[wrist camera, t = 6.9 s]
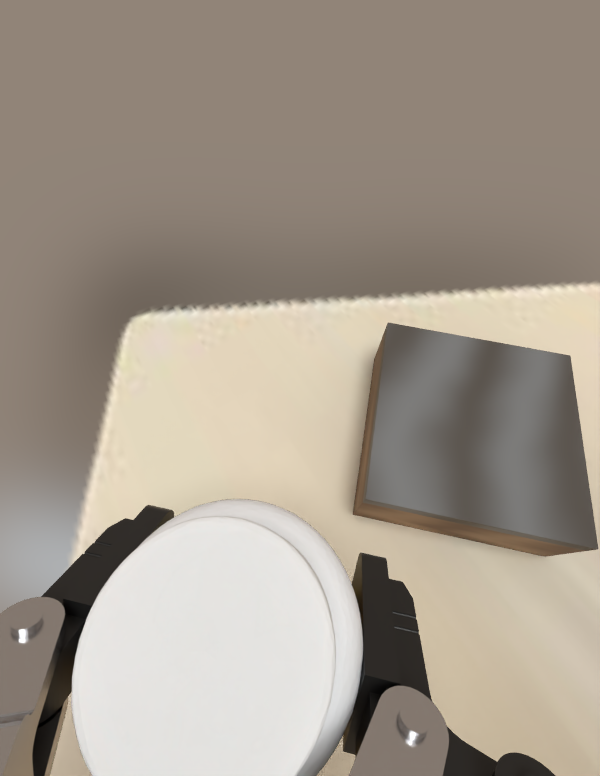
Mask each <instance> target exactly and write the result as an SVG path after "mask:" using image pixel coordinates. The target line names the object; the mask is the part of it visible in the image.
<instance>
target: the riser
mask: <svg viewBox="0 0 600 776" xmlns="http://www.w3.org/2000/svg"><path fill="white" fill-rule="evenodd" d="M353 515H358V516H363V517H367V518H372V519H376V520H381V521H385V522H390V523H394V524H399V525H404V526H408V527H413V528H417V529H422V530H426V531H431V532H436V533H440V534H445V535H449V536H454V537H458V538H463V539H468V540H472V541H477V542H481V543H486V544H490V545H495V546H500V547H504V548H509V549H513V550H518V551H522V552H527V553H531V554H536V555H541V556H553V555H560V554H567V553H574V552H581V551H589V550H596V549H598V544H597V537H596V530H595V523H594V516H593V509H592V502H591V496H590V489H589V482H588V475H587V468H586V461H585V454H584V447H583V440H582V433H581V426H580V420H579V413H578V406H577V399H576V392H575V385H574V378H573V371H572V364H571V357H570V356H569V355H564V354H558V353H553V352H547V351H542V350H536V349H531V348H525V347H520V346H514V345H509V344H503V343H497V342H492V341H486V340H481V339H475V338H470V337H464V336H459V335H453V334H448V333H442V332H437V331H431V330H426V329H420V328H415V327H409V326H404V325H398V324H393V323H388V324H387V326H386V329H385V332H384V335H383V337H382V340H381V343H380V345H379V348H378V351H377V354H376V356H375V359H374V366H373V373H372V381H371V388H370V395H369V402H368V409H367V417H366V424H365V431H364V438H363V445H362V453H361V460H360V467H359V474H358V481H357V489H356V496H355V503H354V510H353Z"/></svg>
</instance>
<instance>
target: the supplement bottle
mask: <svg viewBox="0 0 600 776" xmlns="http://www.w3.org/2000/svg"><path fill="white" fill-rule="evenodd" d="M362 661H363V635H362V624H361V618H360V612H359V607H358V603H357V599H356V595H355V592H354V589H353V587H352V584H351V581H350V579H349V577H348V574H347V572H346V570H345V568H344V566H343V565H342V563H341V561H340V559H339V558H338V556H337V555H336V553H335V552H334V550H333V549H332V548H331V546H330V545H329V544H328V542H327V541H326V540H325V539H324V538H323V537H322V536H321V535H320V534H319V533H318V532H317V531H316V530H315V529H314V528H313V527H312V526H311V525H309V524H308V523H307V522H306V521H304V520H303V519H301V518H300V517H298V516H297V515H295V514H293V513H291V512H290V511H287V510H285V509H283V508H281V507H278V506H276V505H273V504H269V503H266V502H261V501H256V500H249V499H227V500H220V501H215V502H211V503H207V504H202V505H199V506H196V507H194V508H192V509H189V510H187V511H185V512H183V513H181V514H179V515H178V516H176V517H174V518H172V519H171V520H169V521H167V522H166V523H165V524H163V525H162V526H160V527H159V528H158V529H157V530H155V531H154V532H153V533H152V534H151V535H150V536H149V537H147V538H146V539H145V540H144V541H143V542H142V543H141V544H140V545H139V546H138V547H137V549H135V550H134V551H133V552H132V553H131V554H130V555H129V556H128V557H127V558H126V559H125V560H124V561H123V562H122V563H121V564H120V565H119V567H118V568H117V569H116V570H115V571H114V572H113V573H112V575H111V576H110V578H109V579H108V581H107V582H106V583H105V585H104V586H103V588H102V589H101V591H100V593H99V594H98V596H97V598H96V600H95V602H94V604H93V606H92V608H91V610H90V612H89V614H88V616H87V619H86V622H85V625H84V628H83V630H82V633H81V636H80V639H79V643H78V647H77V651H76V655H75V661H74V668H73V674H72V702H71V704H72V713H73V722H74V727H75V731H76V736H77V740H78V743H79V747H80V751H81V754H82V756H83V758H84V761H85V763H86V766H87V767H88V769H89V771H90V773H91V774H92V776H316V775H317V774H318V773H319V771H320V770H321V769H322V768H323V767H324V765H325V764H326V762H327V761H328V759H329V758H330V756H331V755H332V753H333V752H334V750H335V749H336V747H337V745H338V743H339V741H340V740H341V738H342V736H343V734H344V731H345V729H346V727H347V724H348V722H349V719H350V717H351V714H352V712H353V709H354V705H355V701H356V698H357V694H358V689H359V684H360V678H361V671H362Z"/></svg>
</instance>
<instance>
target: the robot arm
mask: <svg viewBox="0 0 600 776" xmlns="http://www.w3.org/2000/svg"><path fill="white" fill-rule="evenodd" d="M172 518H174V512H173V511H172V510H169V509H165V508H160V507H156V506H151V505H148V506H146V507H145V508H144V509H143V510H142V511H141V512H140V513H139V514H138V516H137V517H136V518H135V519H134V520H130V519H126V518H125V519H123V520H121V521H120V522H118V523H116V524H114V525H112V526H111V527H109V528H107V529H106V530H105V531H104V533H103V534H102V535H101V536H100V537H99V538H98V539H97V540H96V541H95V543H93V544H92V545H91V546H90V547H89V548H88V549H87V550H86V551H85V554H82V555H81V556H80V557H79V558H78V559H77V560H76V561H75V562H74V563H73V564H72V565H71V567H70V568H69V569H68V570H67V571H66V572H65V573H64V574H63V575H62V576H61V577H60V578H59V579H58V580H57V581H56V582H55V583H54V584H53V585H52V586H51V587H50V588H49V589H48V590H47V591H46V593H44V594H43V596H41V597H35V598H30V599H27V600H24V601H21V602H18V603H16V604H14V605H12V606H10V607H9V608H7V609H6V610H4V611H3V612H2V613H1V614H0V776H50V773H51V769H52V765H53V761H54V758H55V754H56V750H57V746H58V742H59V738H60V734H61V730H62V726H63V722H64V718H65V714H66V710H67V706H68V696H69V694H70V693H71V691H72V674H73V668H74V661H75V655H76V651H77V647H78V643H79V639H80V636H81V633H82V630H83V628H84V625H85V622H86V619H87V616H88V614H89V612H90V610H91V608H92V606H93V604H94V602H95V600H96V598H97V596H98V594H99V593H100V591H101V589H102V588H103V586H104V585H105V583H106V582H107V581H108V579H109V578H110V576H111V575H112V573H113V572H114V571H115V570H116V569H117V568H118V567H119V565H120V564H121V563H122V562H123V561H124V560H125V559H126V558H127V557H128V556H129V555H130V554H131V553H132V552H133V551H134V550H135V549H137V547H138V546H139V545H140V544H141V543H142V542H143V541H144V540H145V539H146V538H147V537H149V536H150V535H151V534H152V533H153V532H154V531H155V530H157V529H158V528H159V527H160V526H162V525H163V524H165V523H166V522H167V521H169V520H171V519H172ZM352 587H353V589H354V592H355V595H356V599H357V603H358V607H359V612H360V618H361V624H362V635H363V661H362V671H361V678H360V684H359V689H358V694H357V698H356V701H355V705H354V709H353V712H352V714H351V717H350V719H349V722H348V724H347V727H346V729H345V731H344V734H343V751H344V752H347V753H351V754H355V755H356V759H355V762H354V764H353V767H352V769H351V772H350V774H349V776H555V775H554V774H553V773H552V772H551V771H550V770H549V769H548V768H546V767H545V766H544V765H543V764H541V763H540V762H538V761H537V760H535V759H533V758H531V757H529V756H527V755H524V754H520V753H508V754H505V755H504V756H502V757H501V758H500V759H499V761H498V762H496V761H495V760H493V759H491V758H490V757H488V756H487V755H485V754H483V753H482V752H480V751H478V750H477V749H475V748H473V747H472V746H470V745H469V744H467V743H466V742H464V741H463V740H461V739H460V738H459V737H458V736H456V735H455V734H454V733H453V732H452V731H451V730H450V729H449V728H448V727H447V726H446V723H445V721H444V718H443V717H442V715H441V713H440V711H439V710H438V708H437V707H436V706H435V705H434V703H433V702H432V699H431V695H430V691H429V685H428V680H427V674H426V669H425V663H424V658H423V652H422V647H421V641H420V635H419V634H418V632H419V630H418V624H417V620H416V613H415V608H414V602H413V598H412V596H411V595H410V593H409V591H408V590H407V588H406V587H405V585H404V583H403V582H401V581H396V580H392V579H389V577H388V568H387V560H386V558H382V557H378V556H373V555H369V554H364V553H360V554H359V557H358V561H357V565H356V569H355V573H354V577H353V581H352Z"/></svg>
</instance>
